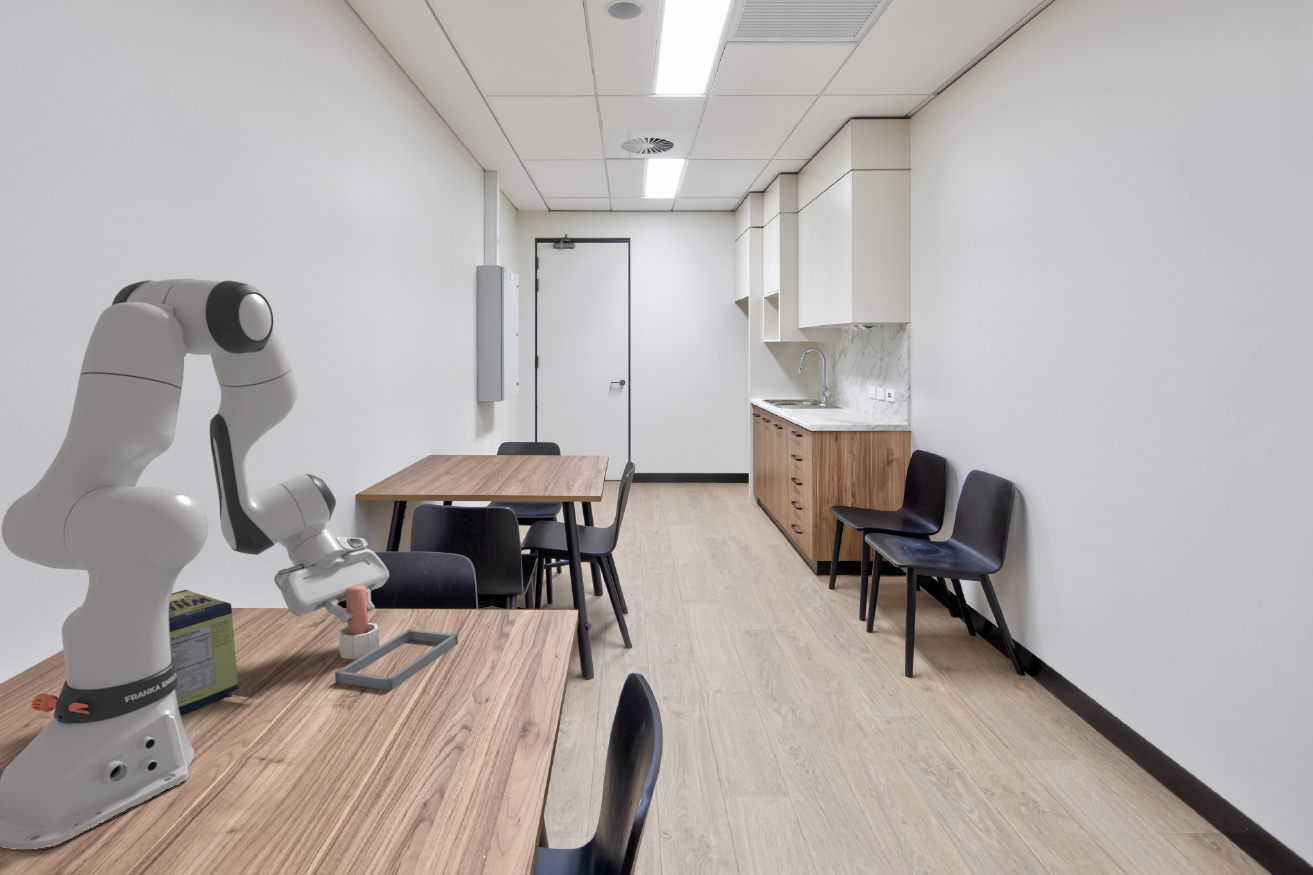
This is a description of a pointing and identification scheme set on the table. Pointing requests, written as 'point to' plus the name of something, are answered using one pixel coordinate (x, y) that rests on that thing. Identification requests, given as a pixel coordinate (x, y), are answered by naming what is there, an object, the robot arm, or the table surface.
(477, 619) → the table surface
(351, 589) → the sausage
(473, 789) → the table surface
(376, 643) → the cup
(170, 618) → the protein box
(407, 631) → the tray
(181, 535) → the robot arm
